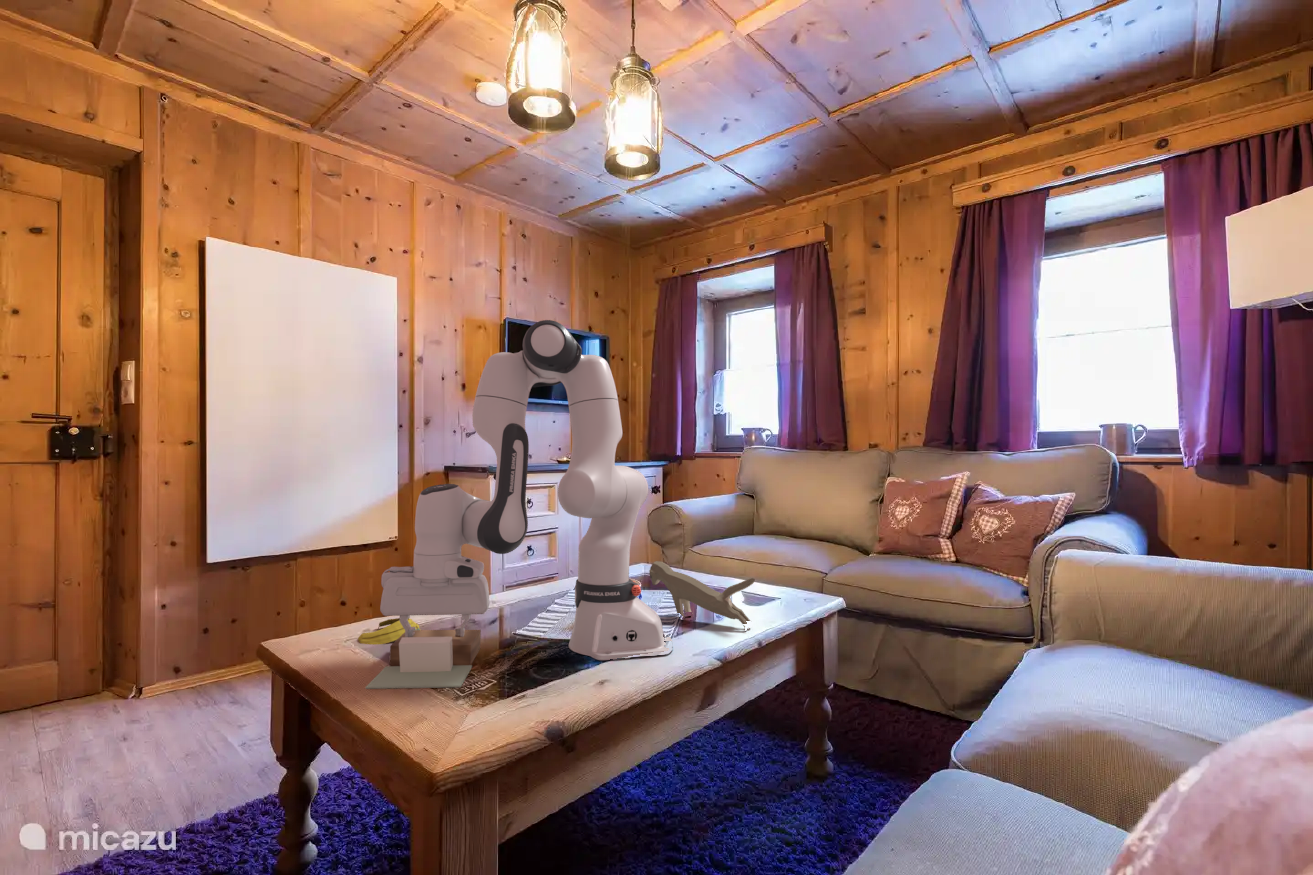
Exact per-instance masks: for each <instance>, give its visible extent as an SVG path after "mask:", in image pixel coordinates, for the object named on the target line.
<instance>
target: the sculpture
mask: <svg viewBox="0 0 1313 875" xmlns="http://www.w3.org/2000/svg"><path fill="white" fill-rule="evenodd" d="M648 572H649V573H648V574H649V578H650V580H651V584H652V586H657V585H658V584H659V583H660V581H661V582H662V583H663V584H664V586H665V587H666V589H667V590H668V591H669V593H670V594H671V597H672V600H673V603H674V606H675V610H676V614H677V613H680V614H681V615H682V616H683V617H684V618H685V615H684V614H685V613H686V612H692V610H691V604H690V603H693V604H694V605H696V606H698V607H699V608H702V609H704V610H706V611H709V612H711V613H714V614H716V615H719V616H722V617H725V618H728V619H731V620H738V621H739V622H740V623H741V625H743V624H747V622H746V621H751V620H750V619H749V617H748V616H747V615H746V613H745V612H744V611H743V609H740V608H739V607H737V606H736V605H735V604H734V603H733V601H732V600H731V596H732V595H734V594H737V593H738V592H741V591H743V590H745V589H748V588H749V587H750V586H752V585H753V584H754V583H755V582H756V579H755V578H754V577H750V578H747V579H745V580H744V581H741V582H738V583H736V584H732V585H730V586H727V588H725V590H723V591H722V592H719V591H717V590H715V589H714V588H712V587H710V586H708V585H707V584H705V583H703V582H702V581H700V580H699V579H697V578H694V577H693V576H690V575H688V574H685V573H682V572H680V571H679V572H678V571H674V570H673V569H672V567H670V565H669V564H667V563H665V562H663V561H660V560H659V561H658V560H657V561H654V562H653V563H652V564H651V566H650V567H649V570H648ZM684 612H685V613H684Z"/></svg>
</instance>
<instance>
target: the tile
mask: <svg viewBox="0 0 1313 875" xmlns="http://www.w3.org/2000/svg"><path fill="white" fill-rule="evenodd" d="M399 657H400V672H440V671H451V669H452V666H453V651H452V637H402V638H401V640H400V642H399Z"/></svg>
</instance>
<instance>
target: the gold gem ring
mask: <svg viewBox="0 0 1313 875" xmlns="http://www.w3.org/2000/svg"><path fill="white" fill-rule="evenodd" d="M399 620H400V617H398V618H397V617H396V618H390V619H389V618H388V619H386V620H384V621H380V622H379V623H378V628H377V629H376V631H371V632H370V631H369V632H363V633H361V634H360V635H359V637H358V639H357V640H358V641H357V642H359V643H360V644H362V645H372V646H373V645H385V644H389V643H392V642H393V643H394V642H395V641H396V640H397V639H398V638H399V637H400V636H401V635H402V634H404V633H405V629H404V628H403V626H402V624H401V623H400V621H399ZM408 622H409V624H410V626H411V627H415V630H421V628H420V625H419V624H418V623H416V622H415V621H414V620H413V619H412V618H409V619H408ZM382 627H383V628H382ZM380 628H381V629H380Z"/></svg>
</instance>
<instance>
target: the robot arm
mask: <svg viewBox="0 0 1313 875" xmlns="http://www.w3.org/2000/svg"><path fill="white" fill-rule="evenodd" d="M582 353H583V348H582V347H581V345H580V344H579V343H578V342H577V341H576V339H575V338H574V337H573V335H572V334H571V333H570V331H569V330H568V329H567V328H566V327H565V325H563V324H561V323H560V322H558V321H555V320H551V319H545V320H543V319H542V320H539V321H538V322H537V321H536V322H535V323H534V324H532V325H531V326H530V327H529V328H528V329H527V330H526V332H525V334H524V336H523V339H522V350H520V351H519V352H514V353H512V352H508V351H507V352H506V351H503V352H501V351H500V352H497V353H494V354H492V355H491V356H489V357H488V359H487V360H486V362H485V364H484V367H483V370H482V372H481V375H480V378H479V382H478V386H477V389H476V392H475V397H474V402H473V406H472V418H471V419H472V426H473V428H474V430H475V432H476V434H477V435H478V436H479V437H480V438H481V439H482V440H483V441H484V442H486V443H487V444H488V445H490V447H491V448H492V449H493V451H494V453H495V455H496V456H495V457H496V471H495V473H496V474H495V482H494V483H495V484H494V493H493V494H494V495H493V497H492V500H486V499H482V498H480V497H477V496H474V495H472V494H470V493H468V492H466V491H465V490H463V488H461V486H459V485H458V484H455V483H444V484H442V483H441V484H436V485H435V484H434V485H432V486H428V487H426V488H424V489H423V490H422V491H421V492H420V493H419V495H418V499H417V503H416V508H415V518H414V532H415V537H416V541H415V542H416V543H415V547H414V549H413V566H411V565H410V566H390V567H389V568H388V569H385V570H384V572H382V574H381V579H380V580H381V587H382V594H381V599H380V600H381V601H380V607H379V608H380V609H379V610H380V613H381V614H382V615H383V616H385V617H389V616H390V617H392V616H393V617H395V616H397V617H398V616H399V618H400V620H399V621H400V623H401V624H402V626H403V628H404V629H405V637H414V636H415V632H414V631H415V627H411V626H410V624H409V622H408V619H411V616H451V615H453V616H454V615H455V616H457V615H458V616H459V615H460V616H461V620H462V621H463V622H462V624H461V625H457V626H456V627H455V629H454V630H455V632H456V634H455V637H463V636H464V630H466V629H465V627H466V625H467V624H468V622H469V621H470V619H471V618H472V617H471V616H472V615H484V614H485V613H486V612H487V611H488V610H489V607H490V592H489V590H490V588H489V583H488V580H487V578H486V576H485V575H484V574H483V573H484V570H485V565H484V562H482V561H480V560H477V559H474V558H471V557H467V556H463V555H462V547H463V545H470V546H473V547H477V548H480V549H481V548H482V549H485V550H487V551H490V552H492V553H494V554H498V555H505V554H509V553H511V552H513V551H515V550H516V549H517V548H519V547H520V545H521V544H522V543H523V542H524V540H525V538H526V535H527V531H528V528H529V527H528V526H529V524H528V523H529V521H528V514H527V512H528V511H527V505H526V496H527V495H526V494H527V482H528V479H527V478H528V469H529V446H530V445H529V437H528V433H527V430H526V414H527V408H528V404H529V398H530V392H531V389H532V388H539V387H549V386H550V387H551V386H557V385H559V384H561V383H562V385H563V387H564V389H565V392H566V396H567V403H568V404H567V405H568V411H569V419H570V420H569V421H570V427H571V428H570V429H571V438H572V439H571V440H572V441H571V442H572V445H571V454H570V460H569V463H568V467H567V469H566V471H565V473H564V475H563V476H562V477H561V479H560V481H559V482H558V487H557V499H558V502H559V504H560V506H561V508H562V510H564V511H565V512H566V513H567V514H568V515H570V516H574V517H577V518H584V519H591V520H590V523H589V526H588V529H587V530H586V532H585V534H584V536H583V537H582V538H581V540H580V542H579V544H578V560H577V562H578V563H577V564H578V565H577V566H578V567H577V579H576V581H575V585H574V605H575V614H574V621H573V626H572V627H573V628H572V632H571V636H570V638H569V641H568V642H569V643H568V648H569V650H571V651H572V652H574V653H577V654H580V655H584V656H589V657H591V658H593V659H594V660H597V661H609V660H610V659H613V660H618V659H617V658H622V657H628V656H633V655H640V654H648V653H653V652H664V651H668V650H669V648H666V647H664V645H666V643H665V642H664V641H672V642H673V640H672V638H671V637H670V636H669V637H667V638H666V639H665V640H664V637H663V633H664V629H663V624H662V620H661V617H660V616H659V614H658V613H657V612H656V610H654V609H653V608H651V607H650V606H649V605H648V604H646V603H645V602H644V601H643V600H641V599H640V598H639V597H638V596H640V595H641V594H642V589H641V586H640V585H638V583H637V582H636V581H635V580H632V579H630V551H631V542H632V538H633V533H634V529H635V527H636V526H635V525H636V521H637V518H638V515H639V512H640V510H641V508H642V506H643V505H644V503H645V502H646V500H647V498H648V495H649V483H648V480H647V479H646V477H645V475H644V474H643V473H642V472H640V471H639V470H637V469H635V468H632V467H630V466H626V465H616V464H615V462H616V460H615V459H616V451H617V447H618V444H619V443H620V441H621V440H622V437H623V427H622V425H623V424H622V419H621V418H622V417H621V412H620V405H619V397H618V392H617V388H616V382H615V379H614V377H613V374H612V373H613V372H612V370H611V368H610V365H609V363H608V361H607V360H606V359H605V358H603V357H602V356H599V355H596V354H582ZM610 661H611V660H610Z"/></svg>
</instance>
